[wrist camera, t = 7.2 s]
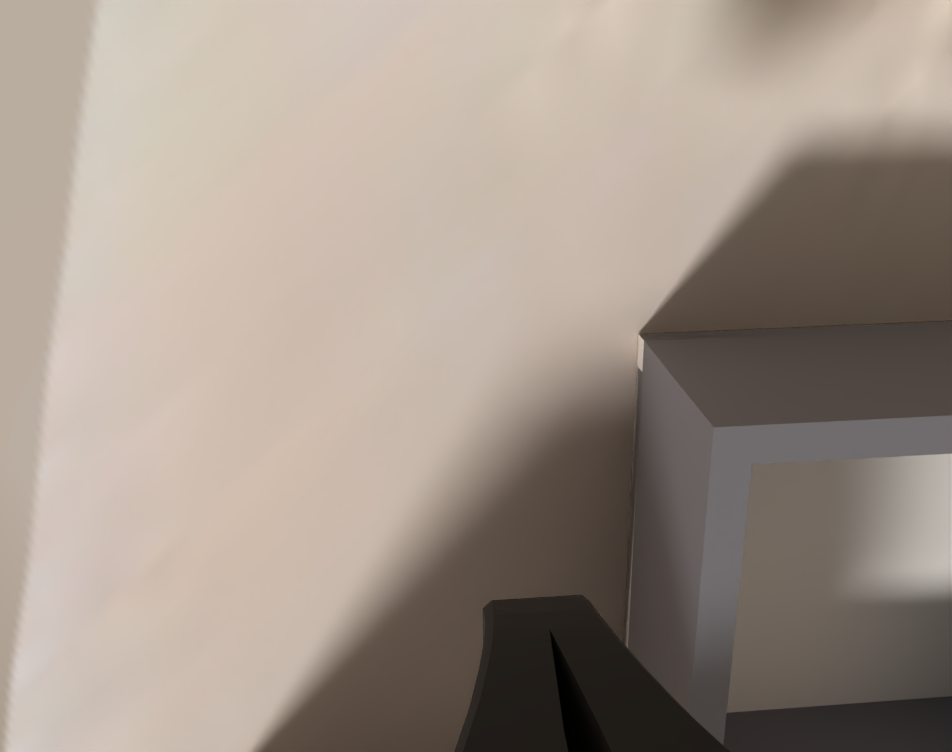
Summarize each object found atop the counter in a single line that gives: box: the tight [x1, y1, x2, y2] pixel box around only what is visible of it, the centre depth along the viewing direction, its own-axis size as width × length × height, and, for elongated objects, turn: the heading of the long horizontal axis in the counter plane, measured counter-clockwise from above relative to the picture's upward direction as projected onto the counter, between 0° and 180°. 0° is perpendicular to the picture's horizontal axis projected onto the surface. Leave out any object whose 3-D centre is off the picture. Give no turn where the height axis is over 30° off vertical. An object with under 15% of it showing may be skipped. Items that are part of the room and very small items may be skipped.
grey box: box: [623, 321, 952, 752], centre depth 22 cm, size 12×12×6 cm
